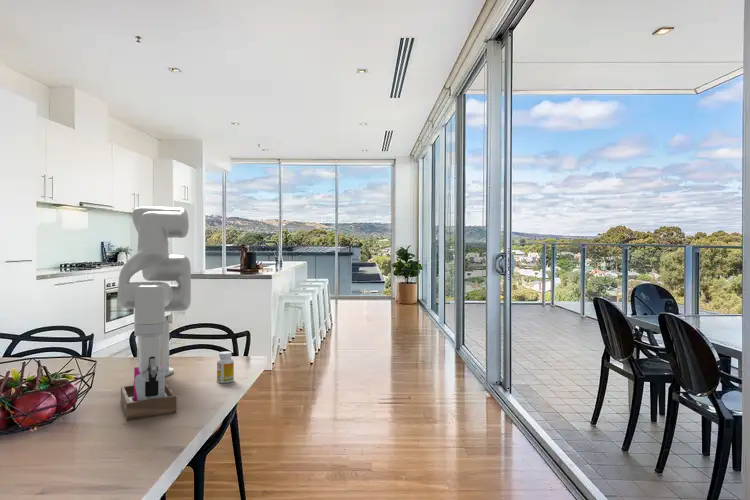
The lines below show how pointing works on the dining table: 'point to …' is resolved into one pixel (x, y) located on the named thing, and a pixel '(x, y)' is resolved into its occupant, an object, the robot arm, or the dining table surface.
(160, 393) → the supplement box
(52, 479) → the dining table surface
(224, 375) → the supplement bottle
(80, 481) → the dining table surface
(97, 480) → the dining table surface
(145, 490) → the dining table surface
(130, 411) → the walnut box
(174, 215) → the robot arm
